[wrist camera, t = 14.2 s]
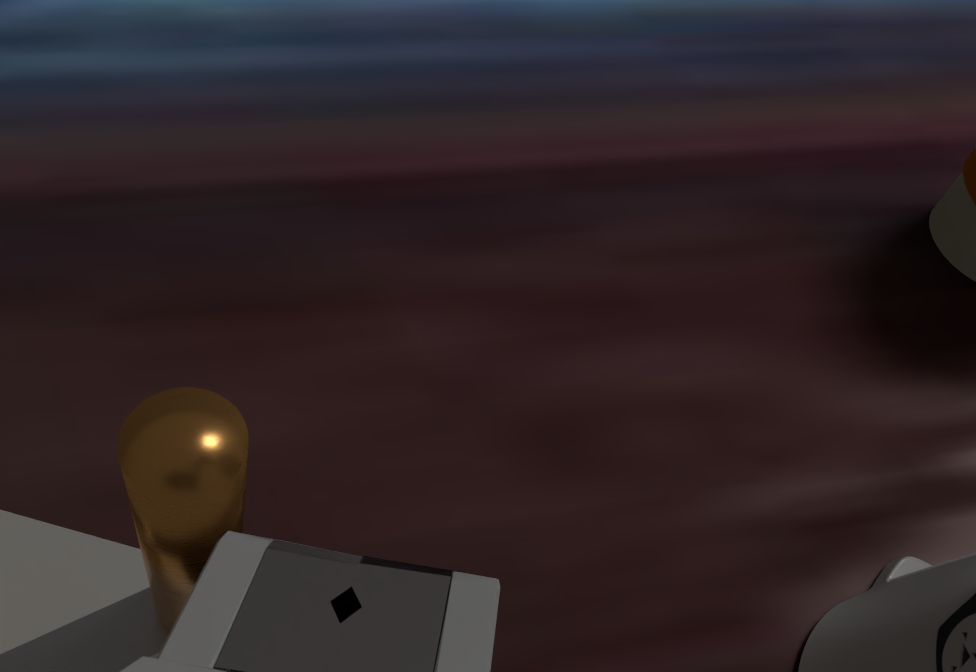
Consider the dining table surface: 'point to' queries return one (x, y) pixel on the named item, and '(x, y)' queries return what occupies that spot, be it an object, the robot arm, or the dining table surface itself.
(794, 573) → the dining table surface
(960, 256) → the reusable coffee cup
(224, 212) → the dining table surface
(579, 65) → the dining table surface
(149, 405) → the brass disc with post
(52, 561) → the white rectangular board
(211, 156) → the dining table surface
